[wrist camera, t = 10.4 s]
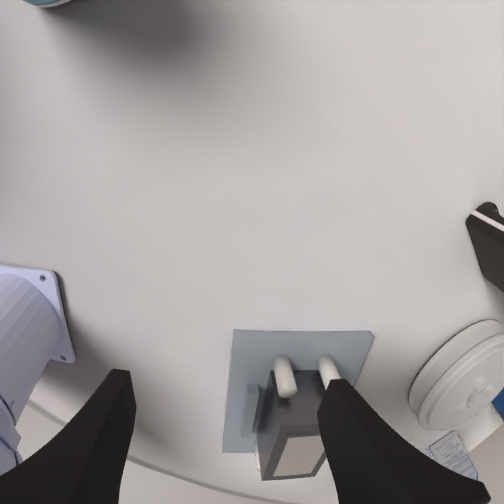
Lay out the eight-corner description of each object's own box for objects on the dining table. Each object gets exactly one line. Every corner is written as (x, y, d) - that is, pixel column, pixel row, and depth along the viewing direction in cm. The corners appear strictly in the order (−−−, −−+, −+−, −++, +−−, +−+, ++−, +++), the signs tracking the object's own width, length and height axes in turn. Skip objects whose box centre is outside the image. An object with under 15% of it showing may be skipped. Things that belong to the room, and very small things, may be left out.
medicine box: (428, 445, 33) (450, 491, 25) (454, 428, 32) (479, 472, 24) (435, 457, 36) (454, 497, 28) (458, 442, 35) (479, 480, 27)
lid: (479, 292, 22) (512, 323, 18) (509, 341, 26) (533, 366, 21) (382, 391, 26) (401, 431, 21) (435, 415, 29) (451, 445, 25)
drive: (256, 433, 25) (262, 482, 20) (270, 370, 21) (280, 428, 17) (303, 431, 25) (315, 478, 20) (328, 369, 22) (348, 422, 17)
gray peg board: (222, 446, 26) (223, 478, 23) (233, 329, 21) (235, 369, 17) (320, 442, 28) (328, 471, 24) (369, 330, 22) (389, 364, 18)
